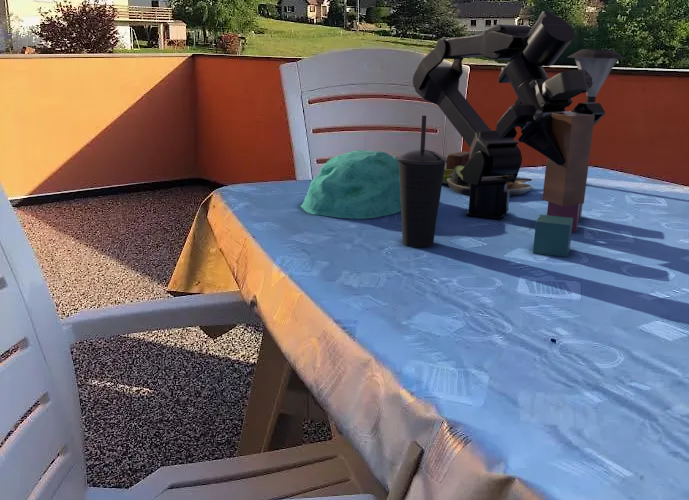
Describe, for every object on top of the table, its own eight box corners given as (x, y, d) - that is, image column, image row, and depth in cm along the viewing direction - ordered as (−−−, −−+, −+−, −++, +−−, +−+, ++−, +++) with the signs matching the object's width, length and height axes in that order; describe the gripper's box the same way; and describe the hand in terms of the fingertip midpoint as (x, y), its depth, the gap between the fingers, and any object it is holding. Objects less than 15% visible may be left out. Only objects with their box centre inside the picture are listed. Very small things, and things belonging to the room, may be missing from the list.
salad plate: (514, 180, 167) (516, 160, 165) (552, 195, 150) (554, 174, 149) (437, 182, 162) (438, 162, 161) (467, 198, 146) (468, 176, 144)
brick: (460, 175, 172) (461, 156, 170) (445, 173, 174) (446, 154, 172) (476, 169, 180) (477, 151, 179) (461, 168, 182) (462, 149, 181)
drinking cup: (410, 252, 107) (416, 119, 102) (384, 240, 114) (389, 114, 108) (451, 246, 111) (460, 117, 105) (424, 235, 117) (430, 112, 112)
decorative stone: (432, 195, 148) (435, 148, 145) (379, 223, 124) (381, 167, 121) (344, 185, 157) (345, 140, 154) (278, 209, 133) (278, 156, 130)
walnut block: (562, 206, 111) (572, 116, 107) (542, 200, 115) (551, 112, 111) (584, 203, 113) (594, 115, 109) (563, 197, 117) (572, 112, 113)
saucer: (429, 183, 159) (430, 174, 159) (431, 177, 168) (431, 168, 167) (468, 185, 158) (469, 176, 158) (468, 179, 166) (469, 170, 166)
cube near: (532, 253, 108) (535, 221, 107) (537, 245, 113) (540, 214, 111) (566, 257, 106) (570, 225, 105) (569, 248, 111) (573, 217, 110)
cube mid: (545, 229, 123) (548, 201, 121) (548, 223, 127) (551, 195, 126) (575, 232, 121) (578, 204, 119) (577, 226, 125) (581, 198, 124)
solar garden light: (611, 182, 167) (628, 50, 159) (607, 191, 156) (624, 50, 148) (557, 177, 172) (571, 49, 163) (550, 185, 161) (564, 48, 153)
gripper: (514, 50, 107) (559, 133, 100) (603, 52, 115) (650, 128, 109) (478, 99, 115) (517, 178, 109) (563, 97, 124) (603, 170, 118)
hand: (573, 162), depth 111 cm, fingers closed on walnut block, 4 cm apart
